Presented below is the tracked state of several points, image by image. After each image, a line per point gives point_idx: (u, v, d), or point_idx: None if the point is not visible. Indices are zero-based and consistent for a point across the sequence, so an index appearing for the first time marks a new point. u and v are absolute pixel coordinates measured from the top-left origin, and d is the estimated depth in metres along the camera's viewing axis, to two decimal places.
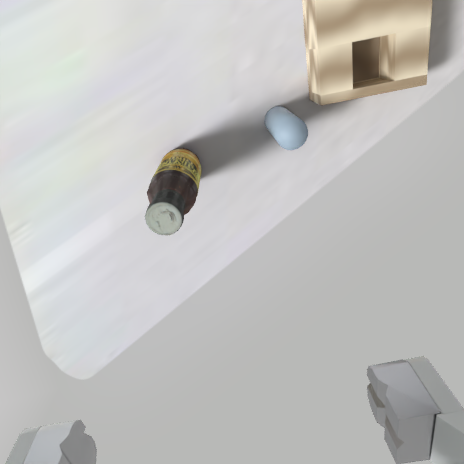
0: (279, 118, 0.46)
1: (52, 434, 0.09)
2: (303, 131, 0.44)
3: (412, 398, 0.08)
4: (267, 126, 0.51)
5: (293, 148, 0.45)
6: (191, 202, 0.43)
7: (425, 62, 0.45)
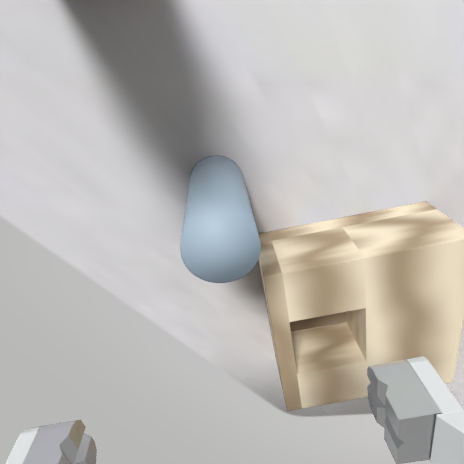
0: (247, 207, 0.19)
1: (52, 434, 0.09)
2: (227, 273, 0.18)
3: (412, 398, 0.08)
4: (210, 167, 0.23)
5: (184, 256, 0.18)
6: None
7: (319, 403, 0.30)
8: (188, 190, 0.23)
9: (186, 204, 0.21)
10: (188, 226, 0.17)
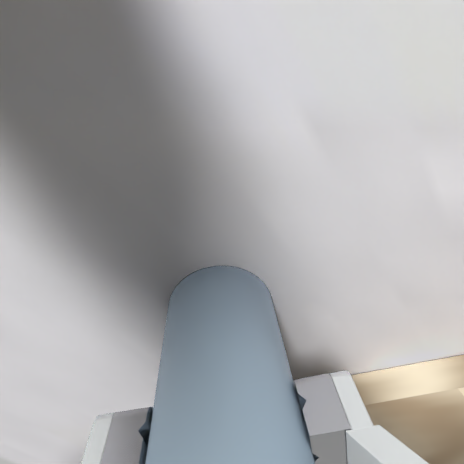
0: None
1: (127, 421, 0.09)
2: None
3: (326, 413, 0.08)
4: (208, 315, 0.10)
5: None
6: None
7: None
8: None
9: (148, 443, 0.08)
10: None
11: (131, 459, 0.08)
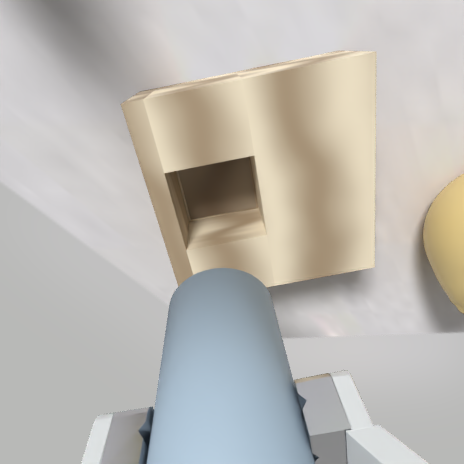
0: None
1: (127, 421, 0.09)
2: None
3: (326, 413, 0.08)
4: (209, 317, 0.10)
5: None
6: None
7: None
8: (160, 369, 0.10)
9: (149, 446, 0.08)
10: None
11: (131, 459, 0.08)
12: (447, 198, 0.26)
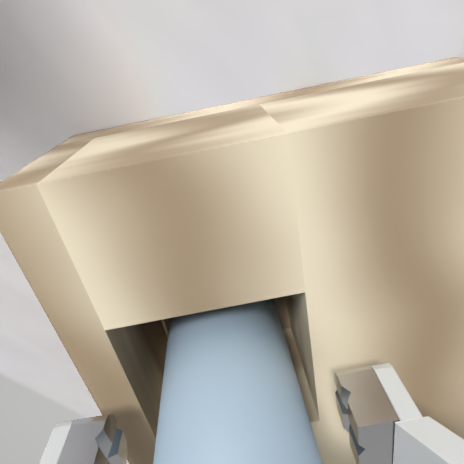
0: None
1: (86, 428, 0.09)
2: None
3: (372, 405, 0.08)
4: None
5: None
6: None
7: None
8: (167, 340, 0.11)
9: (160, 403, 0.09)
10: None
11: None
12: None
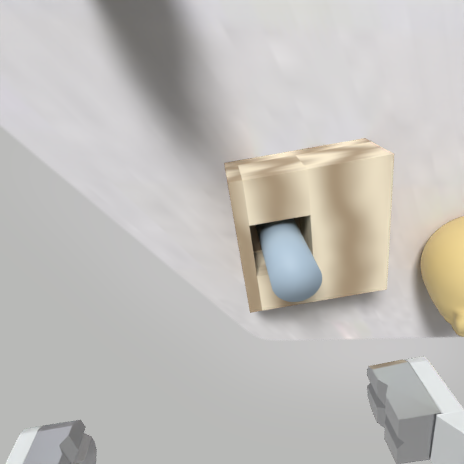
0: (310, 252, 0.29)
1: (52, 434, 0.09)
2: (298, 295, 0.28)
3: (412, 398, 0.08)
4: None
5: (273, 285, 0.28)
6: None
7: (276, 305, 0.36)
8: (261, 235, 0.33)
9: (264, 247, 0.31)
10: (277, 266, 0.27)
11: None
12: (438, 240, 0.37)
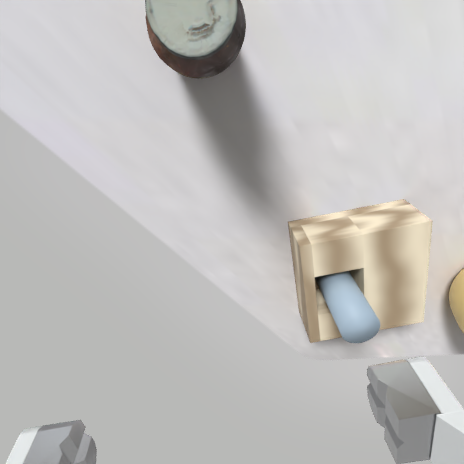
0: None
1: (52, 434, 0.09)
2: (361, 338, 0.36)
3: (412, 398, 0.08)
4: None
5: (342, 332, 0.35)
6: (190, 68, 0.21)
7: (332, 337, 0.43)
8: (322, 283, 0.41)
9: (328, 296, 0.39)
10: (346, 319, 0.35)
11: None
12: None
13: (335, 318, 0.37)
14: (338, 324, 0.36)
